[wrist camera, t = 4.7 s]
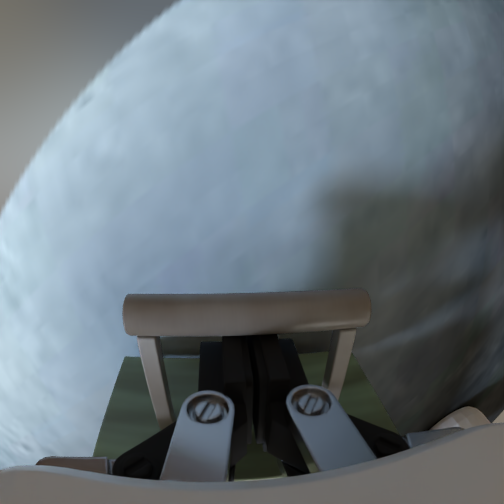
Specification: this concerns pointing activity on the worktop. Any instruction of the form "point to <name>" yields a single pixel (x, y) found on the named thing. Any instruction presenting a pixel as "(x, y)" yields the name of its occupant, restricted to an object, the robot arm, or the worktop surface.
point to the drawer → (232, 324)
